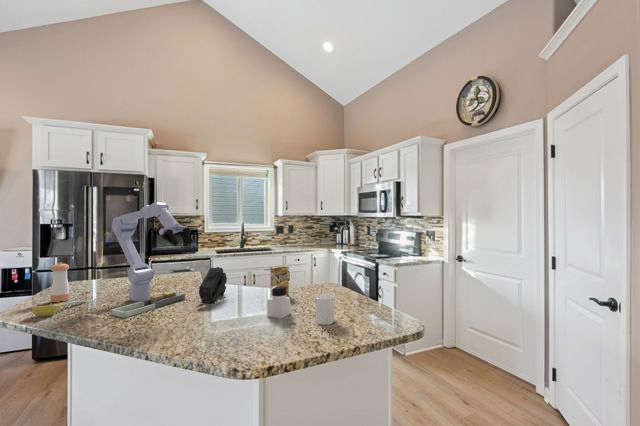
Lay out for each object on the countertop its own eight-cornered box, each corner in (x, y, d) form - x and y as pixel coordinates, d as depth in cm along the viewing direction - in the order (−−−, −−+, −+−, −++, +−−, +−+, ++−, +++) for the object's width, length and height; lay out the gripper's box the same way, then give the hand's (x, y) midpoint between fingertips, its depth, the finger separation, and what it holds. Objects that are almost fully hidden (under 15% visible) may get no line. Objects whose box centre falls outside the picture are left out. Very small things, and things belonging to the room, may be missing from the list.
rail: (141, 307, 139) (141, 300, 139) (172, 299, 154) (172, 292, 154) (156, 310, 135) (156, 302, 135) (186, 301, 149) (186, 294, 149)
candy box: (273, 298, 154) (273, 268, 154) (270, 296, 158) (270, 266, 158) (289, 295, 159) (288, 266, 159) (285, 293, 163) (285, 265, 163)
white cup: (320, 327, 114) (320, 300, 114) (311, 320, 121) (311, 295, 121) (338, 323, 118) (338, 297, 118) (328, 317, 125) (328, 293, 125)
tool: (230, 288, 163) (224, 264, 155) (215, 318, 145) (207, 293, 137) (218, 287, 164) (211, 263, 156) (202, 318, 146) (193, 293, 138)
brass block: (162, 301, 145) (162, 293, 145) (169, 299, 149) (169, 291, 149) (167, 302, 143) (167, 294, 143) (175, 300, 147) (175, 292, 147)
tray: (110, 316, 127) (110, 309, 127) (141, 308, 139) (141, 301, 139) (124, 320, 123) (124, 312, 123) (155, 310, 135) (155, 303, 135)
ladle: (23, 318, 124) (26, 303, 125) (76, 312, 149) (78, 300, 151) (44, 317, 123) (46, 302, 125) (94, 312, 149) (95, 300, 151)
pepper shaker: (61, 302, 148) (61, 263, 148) (46, 302, 148) (46, 263, 149) (73, 298, 156) (73, 261, 156) (59, 298, 156) (59, 261, 156)
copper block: (150, 305, 140) (150, 296, 140) (158, 302, 143) (158, 294, 143) (156, 306, 138) (156, 297, 138) (163, 304, 142) (163, 295, 142)
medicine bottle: (290, 313, 129) (290, 285, 129) (281, 319, 123) (281, 289, 123) (276, 311, 132) (276, 284, 132) (266, 316, 126) (266, 287, 126)
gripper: (158, 217, 136) (174, 239, 132) (185, 215, 149) (200, 235, 145) (151, 228, 138) (166, 250, 135) (178, 225, 151) (193, 245, 148)
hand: (183, 243), depth 140 cm, fingers open, 7 cm apart
